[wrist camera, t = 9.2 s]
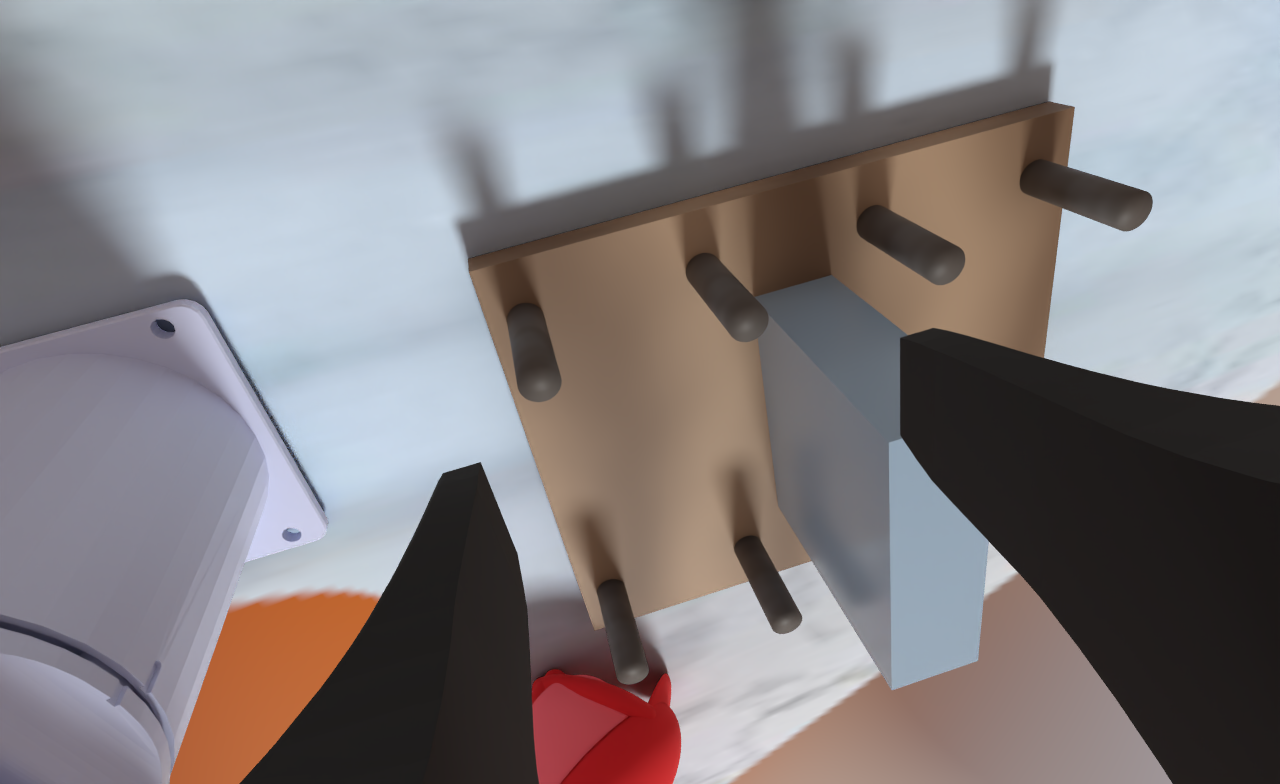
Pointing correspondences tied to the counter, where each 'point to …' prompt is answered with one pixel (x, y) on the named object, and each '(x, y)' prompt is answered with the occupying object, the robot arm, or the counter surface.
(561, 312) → the rack
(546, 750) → the red toy figurine
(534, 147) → the counter surface
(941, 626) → the tile
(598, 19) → the counter surface
